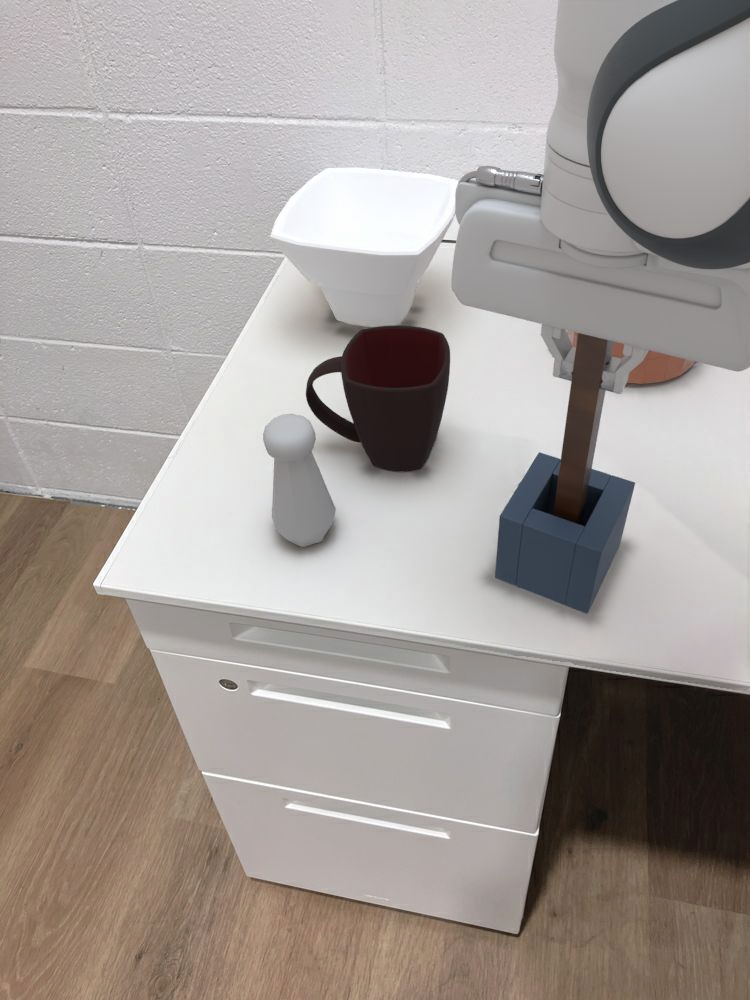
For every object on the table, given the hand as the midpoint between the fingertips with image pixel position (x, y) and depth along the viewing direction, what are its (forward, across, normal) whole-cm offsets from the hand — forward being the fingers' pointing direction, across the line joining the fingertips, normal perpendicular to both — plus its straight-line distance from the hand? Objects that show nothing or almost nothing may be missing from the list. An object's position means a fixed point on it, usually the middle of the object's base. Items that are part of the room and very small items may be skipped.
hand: (589, 380), depth 56 cm
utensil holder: (+20, 0, 0) cm, 20 cm away
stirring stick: (+19, 0, 0) cm, 19 cm away
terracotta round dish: (+20, -4, +33) cm, 39 cm away
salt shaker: (+20, -22, -7) cm, 31 cm away
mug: (+20, -21, +6) cm, 30 cm away
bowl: (+20, -34, +27) cm, 48 cm away
